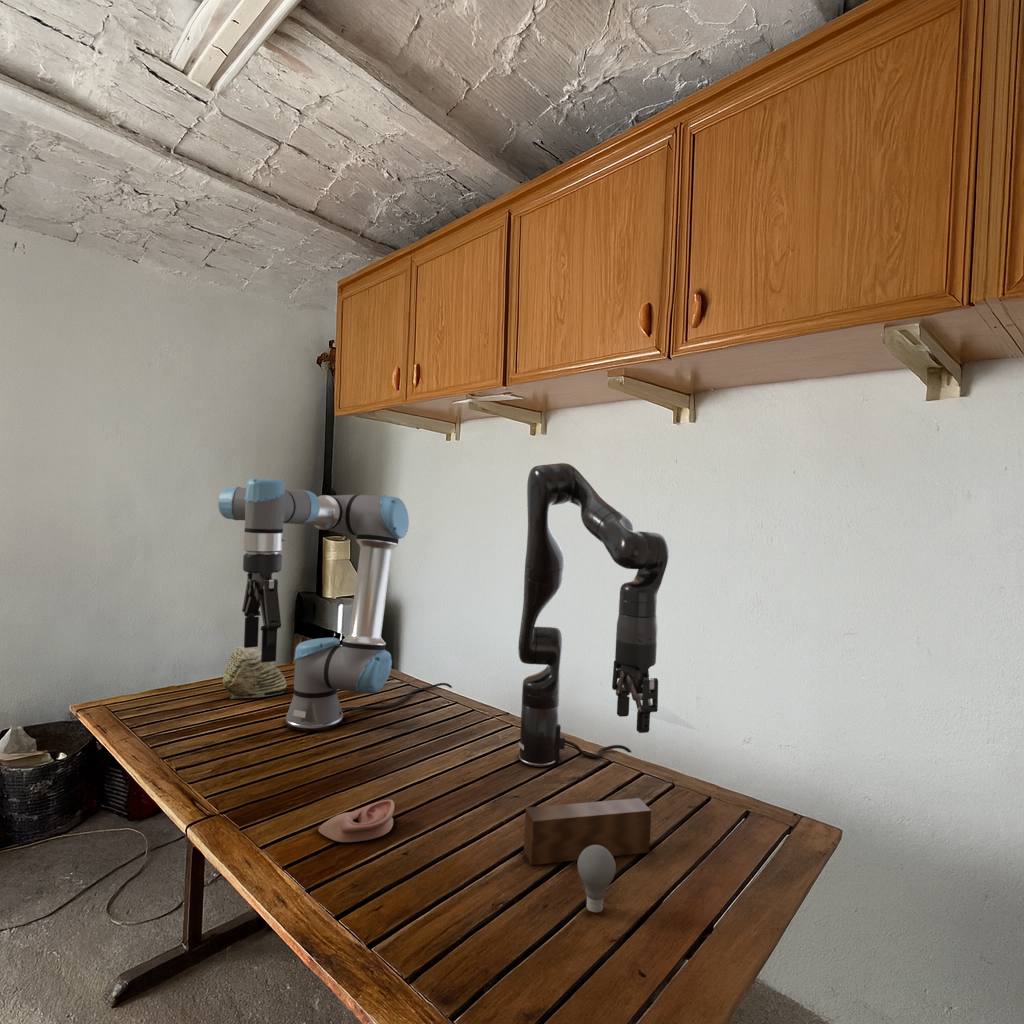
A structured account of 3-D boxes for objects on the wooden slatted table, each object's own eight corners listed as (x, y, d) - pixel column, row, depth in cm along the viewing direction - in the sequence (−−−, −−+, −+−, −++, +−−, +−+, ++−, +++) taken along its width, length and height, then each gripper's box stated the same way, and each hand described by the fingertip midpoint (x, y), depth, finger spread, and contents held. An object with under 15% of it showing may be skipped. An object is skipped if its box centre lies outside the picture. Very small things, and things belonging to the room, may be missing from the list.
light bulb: (572, 898, 103) (575, 837, 103) (608, 897, 103) (611, 837, 103) (579, 922, 97) (582, 858, 97) (617, 922, 97) (620, 858, 97)
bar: (531, 865, 112) (533, 821, 112) (523, 849, 117) (525, 807, 117) (649, 852, 118) (651, 810, 118) (637, 838, 123) (639, 797, 123)
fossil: (218, 695, 195) (220, 647, 195) (278, 685, 208) (279, 640, 207) (228, 703, 189) (230, 653, 188) (289, 692, 201) (290, 645, 201)
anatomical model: (310, 816, 117) (339, 789, 129) (309, 837, 117) (338, 808, 129) (377, 827, 115) (401, 798, 126) (376, 848, 115) (400, 818, 126)
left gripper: (300, 558, 124) (296, 665, 125) (265, 547, 144) (261, 640, 145) (260, 559, 120) (256, 670, 120) (229, 547, 140) (226, 643, 140)
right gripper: (673, 646, 112) (669, 737, 113) (637, 629, 126) (633, 710, 127) (635, 647, 110) (630, 739, 111) (602, 629, 124) (598, 711, 125)
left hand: (259, 654), depth 132 cm, fingers open, 13 cm apart
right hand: (632, 723), depth 119 cm, fingers open, 8 cm apart
